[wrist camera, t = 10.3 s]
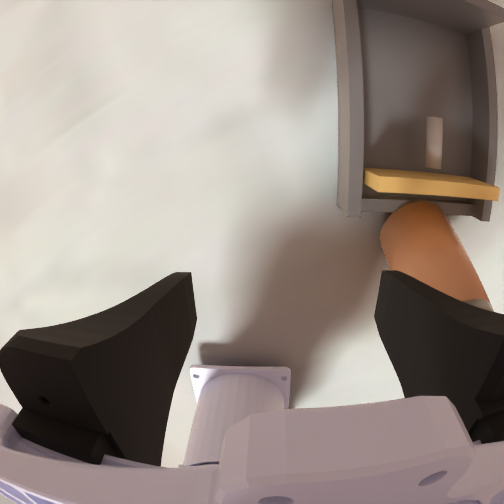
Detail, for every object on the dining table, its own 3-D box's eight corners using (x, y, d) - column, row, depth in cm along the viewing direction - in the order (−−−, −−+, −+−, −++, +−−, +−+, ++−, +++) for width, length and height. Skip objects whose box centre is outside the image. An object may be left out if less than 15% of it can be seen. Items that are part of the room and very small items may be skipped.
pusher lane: (468, 210, 19) (515, 236, 14) (336, 205, 20) (361, 233, 14) (467, 30, 14) (514, 14, 8) (331, -1, 14) (352, -41, 9)
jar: (432, 256, 20) (470, 358, 14) (372, 258, 21) (400, 371, 15) (454, 202, 17) (513, 310, 11) (388, 200, 17) (437, 322, 11)
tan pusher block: (467, 188, 17) (497, 200, 14) (358, 180, 18) (378, 192, 15) (471, 127, 16) (502, 130, 12) (359, 110, 16) (380, 106, 13)
